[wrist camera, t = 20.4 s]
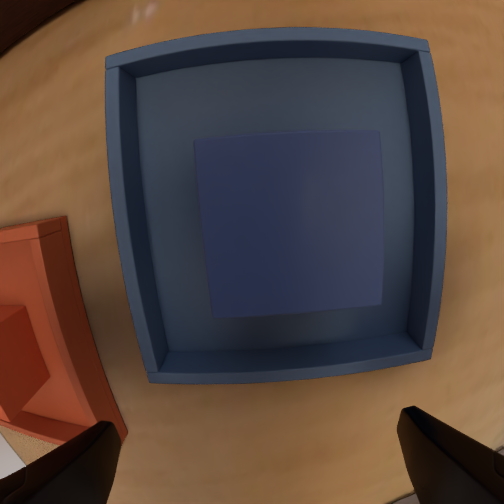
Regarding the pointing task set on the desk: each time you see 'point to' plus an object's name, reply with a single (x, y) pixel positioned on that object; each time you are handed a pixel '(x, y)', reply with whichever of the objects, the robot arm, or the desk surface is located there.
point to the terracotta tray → (55, 333)
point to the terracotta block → (18, 361)
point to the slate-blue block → (291, 221)
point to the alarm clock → (24, 17)
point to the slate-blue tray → (272, 120)
